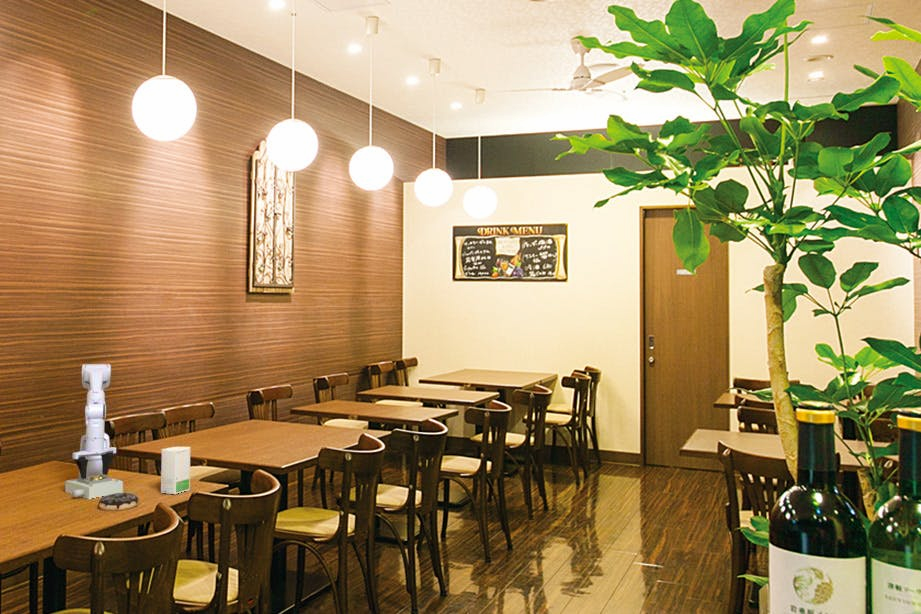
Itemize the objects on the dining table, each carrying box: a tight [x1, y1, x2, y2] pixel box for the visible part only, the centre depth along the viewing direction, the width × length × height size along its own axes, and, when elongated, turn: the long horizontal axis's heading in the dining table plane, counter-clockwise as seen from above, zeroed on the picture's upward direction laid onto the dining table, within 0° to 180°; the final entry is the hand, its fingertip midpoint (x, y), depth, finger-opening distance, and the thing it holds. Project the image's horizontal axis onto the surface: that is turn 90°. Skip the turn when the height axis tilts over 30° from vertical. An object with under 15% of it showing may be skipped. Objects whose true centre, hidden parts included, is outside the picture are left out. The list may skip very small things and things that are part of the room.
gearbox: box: [64, 475, 124, 500], centre depth 256 cm, size 16×15×5 cm
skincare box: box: [160, 446, 192, 496], centre depth 260 cm, size 8×7×16 cm
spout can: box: [88, 475, 103, 481], centre depth 256 cm, size 6×4×6 cm
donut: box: [97, 492, 139, 512], centre depth 239 cm, size 11×12×4 cm
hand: (94, 476), depth 257 cm, fingers open, 7 cm apart
